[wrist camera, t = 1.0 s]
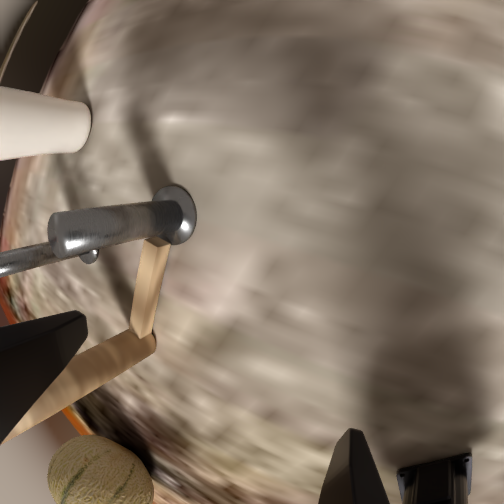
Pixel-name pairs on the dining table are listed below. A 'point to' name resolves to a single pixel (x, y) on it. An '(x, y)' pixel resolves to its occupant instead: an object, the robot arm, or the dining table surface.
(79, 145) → the cream white cylinder
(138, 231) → the post
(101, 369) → the gate
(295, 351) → the dining table surface
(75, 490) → the cantaloupe
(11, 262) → the post
